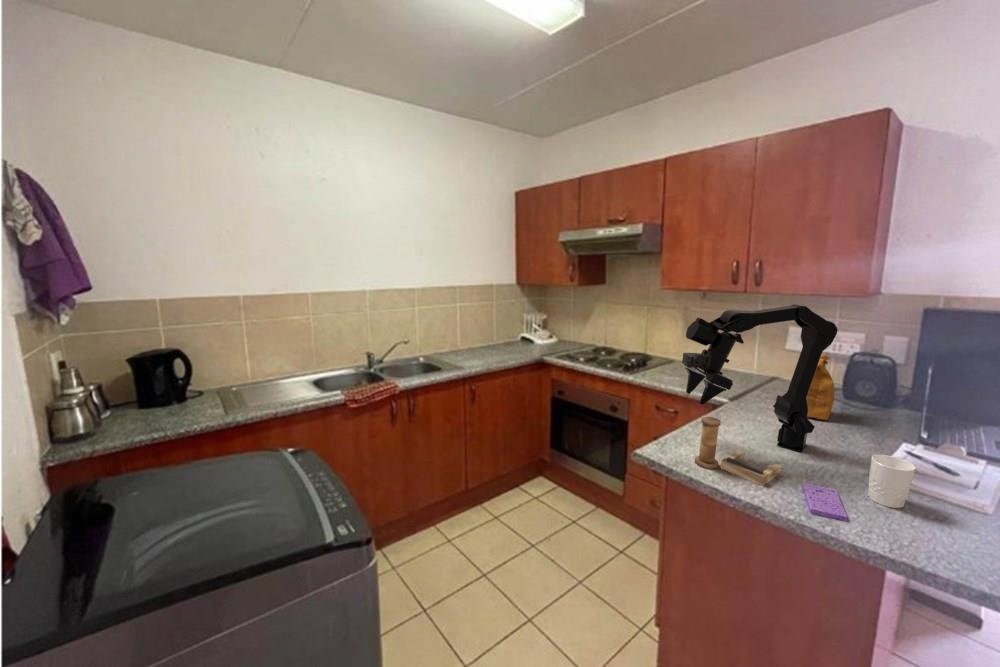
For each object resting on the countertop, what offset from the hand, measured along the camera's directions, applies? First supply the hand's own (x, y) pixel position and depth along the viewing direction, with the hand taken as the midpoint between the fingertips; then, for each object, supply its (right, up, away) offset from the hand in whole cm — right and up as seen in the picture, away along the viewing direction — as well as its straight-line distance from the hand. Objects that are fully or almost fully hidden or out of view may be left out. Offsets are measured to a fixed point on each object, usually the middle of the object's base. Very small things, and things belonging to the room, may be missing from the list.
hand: (694, 398), depth 133 cm
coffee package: (+56, -10, +29) cm, 64 cm away
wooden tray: (+10, -18, -12) cm, 24 cm away
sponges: (+19, -22, -27) cm, 39 cm away
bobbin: (0, -17, -8) cm, 19 cm away
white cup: (+35, -21, -25) cm, 48 cm away
